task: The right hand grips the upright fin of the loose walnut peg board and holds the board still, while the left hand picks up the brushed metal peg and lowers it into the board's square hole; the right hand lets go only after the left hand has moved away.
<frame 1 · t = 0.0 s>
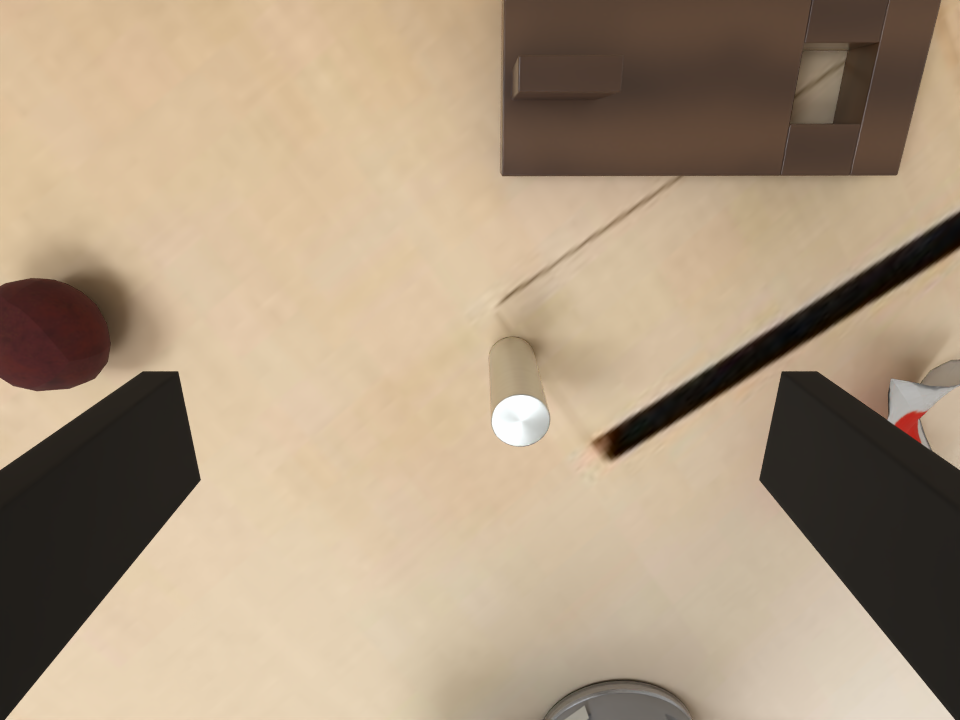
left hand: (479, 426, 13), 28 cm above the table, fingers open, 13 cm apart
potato: (81, 320, 41), on the table
peg board: (693, 88, 36), on the table
fish: (848, 418, 44), on the table
peg: (511, 358, 42), on the table
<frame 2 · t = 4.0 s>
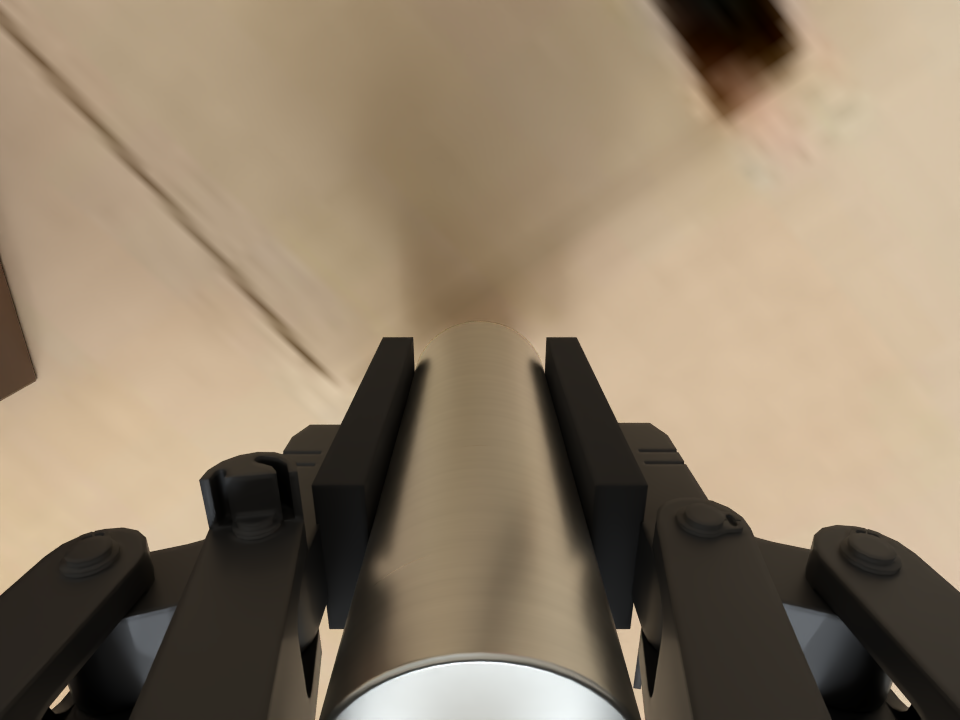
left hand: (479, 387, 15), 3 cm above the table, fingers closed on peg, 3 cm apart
peg: (479, 382, 15), point 3 cm above the table, touching left hand
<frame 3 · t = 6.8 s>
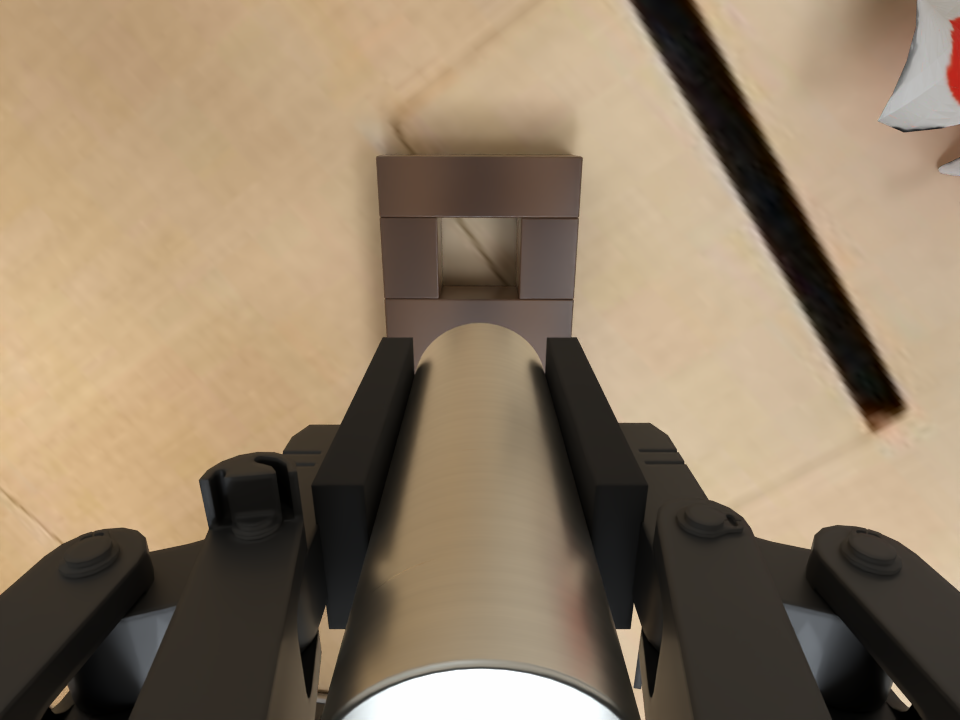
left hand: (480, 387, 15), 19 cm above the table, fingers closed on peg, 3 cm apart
peg board: (479, 364, 35), on the table
fish: (929, 93, 29), on the table
peg: (480, 384, 15), point 18 cm above the table, touching left hand
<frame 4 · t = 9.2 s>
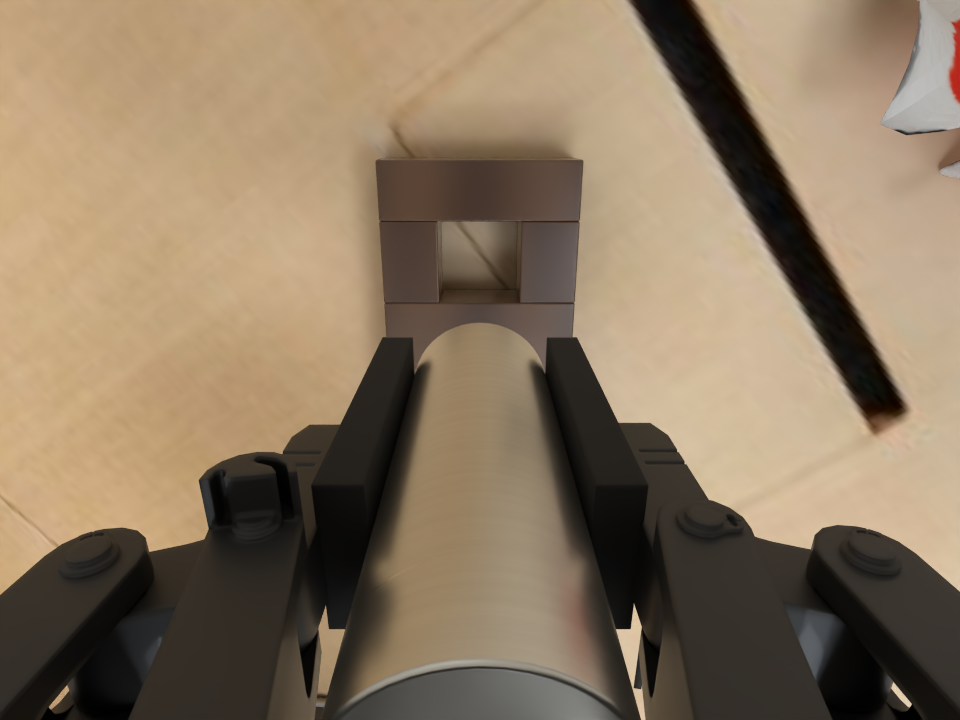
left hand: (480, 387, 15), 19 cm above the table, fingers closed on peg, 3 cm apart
peg board: (479, 368, 34), on the table
fish: (930, 95, 29), on the table
peg: (479, 383, 15), point 18 cm above the table, touching left hand
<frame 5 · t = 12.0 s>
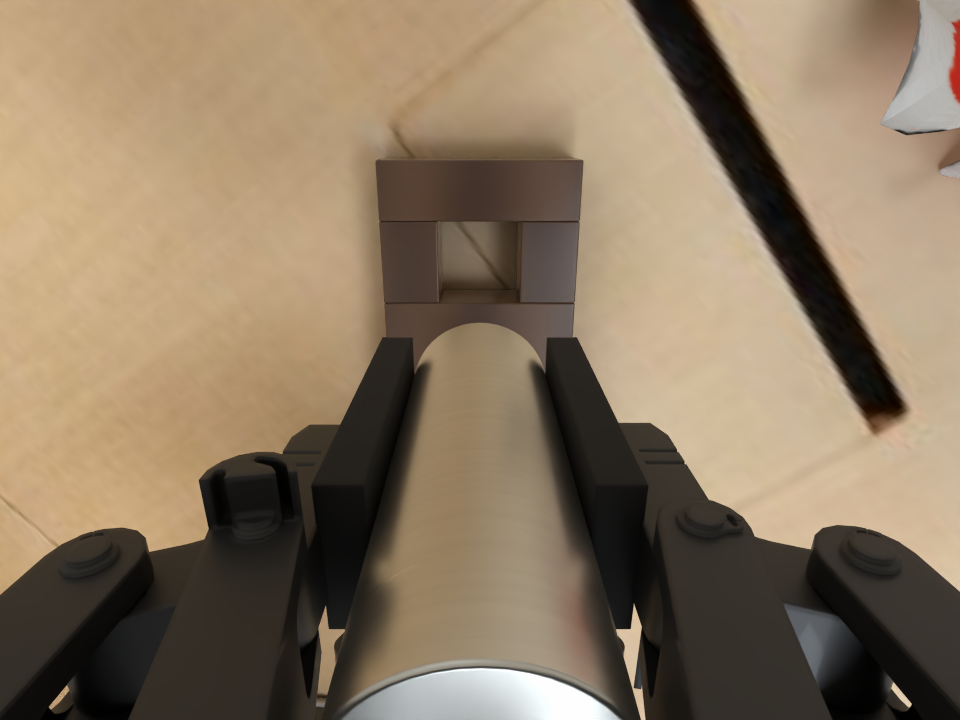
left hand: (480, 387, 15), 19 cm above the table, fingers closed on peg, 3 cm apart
peg board: (479, 368, 34), on the table, touching right hand
fish: (930, 95, 29), on the table
peg: (479, 383, 15), point 18 cm above the table, touching left hand
when the left hand's fingers open (5 cm above the table, at t = 14.6 s): peg drops 4 cm, resting in peg board.
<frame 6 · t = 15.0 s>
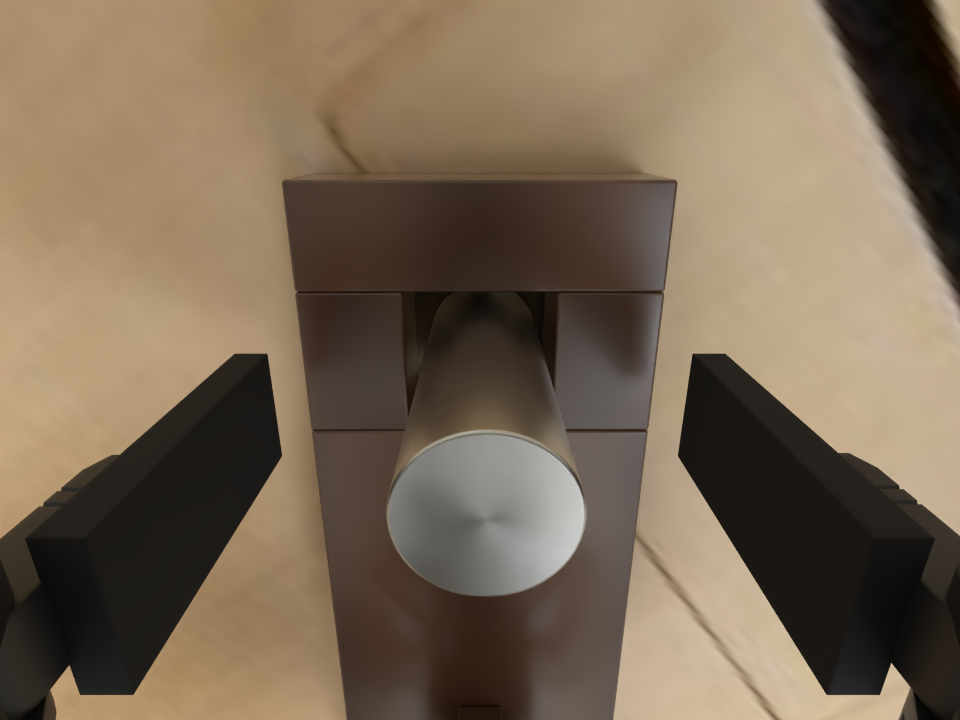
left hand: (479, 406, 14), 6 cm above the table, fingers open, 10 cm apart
peg board: (479, 508, 21), on the table, touching right hand
peg: (483, 332, 19), resting in peg board
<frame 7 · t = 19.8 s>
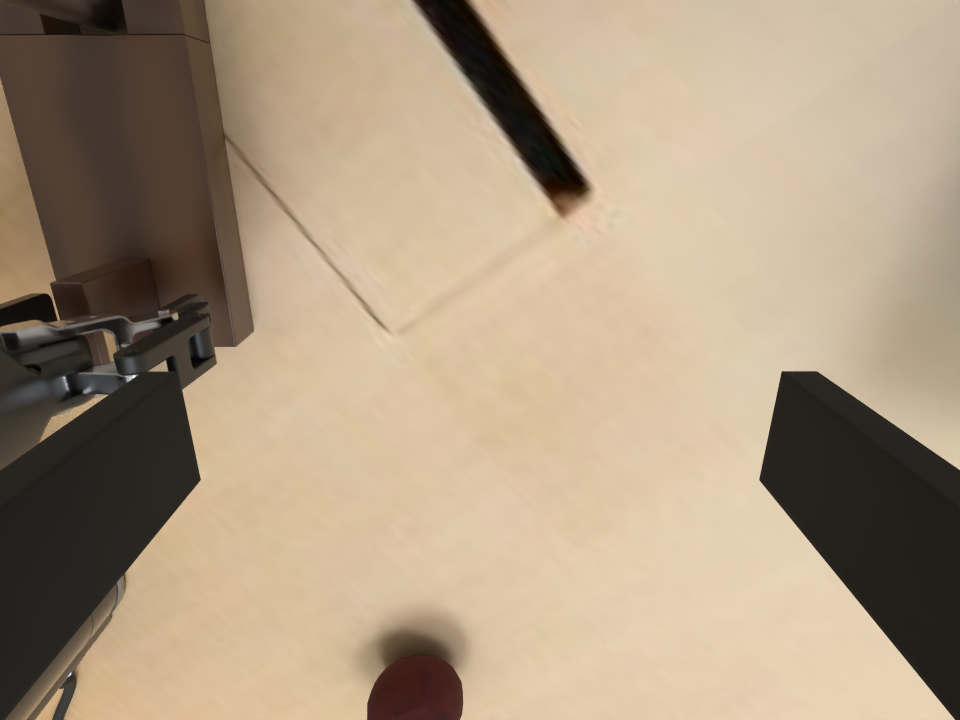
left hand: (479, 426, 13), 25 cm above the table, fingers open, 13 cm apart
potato: (421, 665, 49), on the table
peg board: (139, 138, 34), on the table
peg: (114, 0, 31), resting in peg board
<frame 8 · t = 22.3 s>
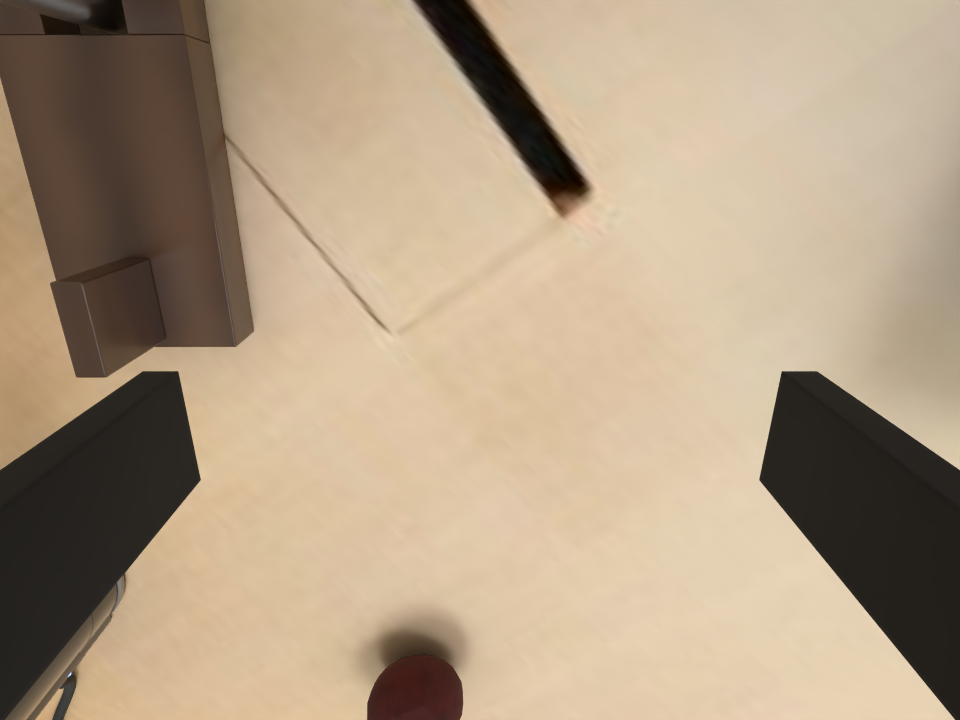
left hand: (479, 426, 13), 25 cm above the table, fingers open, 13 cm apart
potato: (421, 665, 49), on the table
peg board: (139, 138, 34), on the table
peg: (114, 0, 31), resting in peg board
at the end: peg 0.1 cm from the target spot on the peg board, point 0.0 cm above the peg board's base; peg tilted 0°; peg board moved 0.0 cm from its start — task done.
